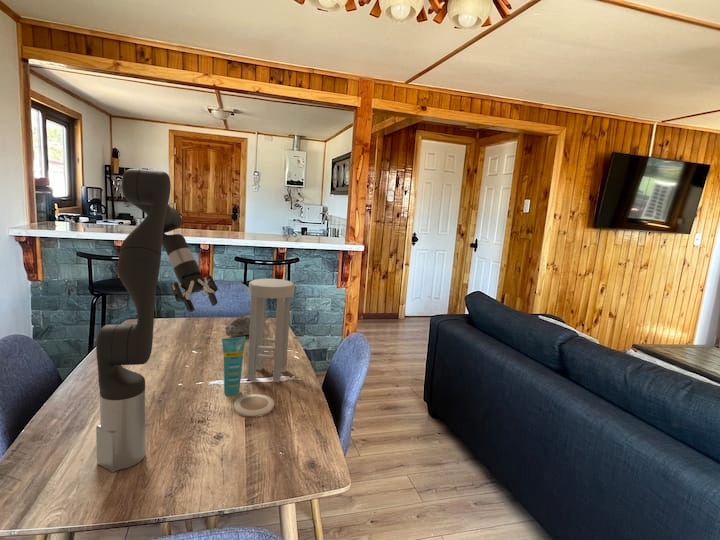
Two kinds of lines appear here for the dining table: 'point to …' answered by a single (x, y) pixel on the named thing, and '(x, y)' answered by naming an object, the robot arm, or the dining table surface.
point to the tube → (233, 364)
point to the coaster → (253, 405)
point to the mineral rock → (239, 326)
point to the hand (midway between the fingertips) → (204, 308)
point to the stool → (259, 293)
